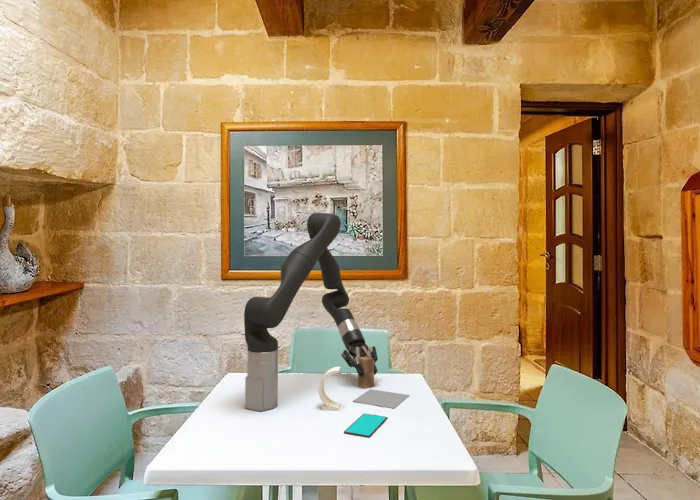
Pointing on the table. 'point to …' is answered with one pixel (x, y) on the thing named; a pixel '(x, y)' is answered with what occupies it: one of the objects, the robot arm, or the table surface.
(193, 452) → the table surface
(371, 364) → the walnut block
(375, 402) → the mat
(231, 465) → the table surface
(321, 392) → the headphone stand
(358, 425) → the smartphone
